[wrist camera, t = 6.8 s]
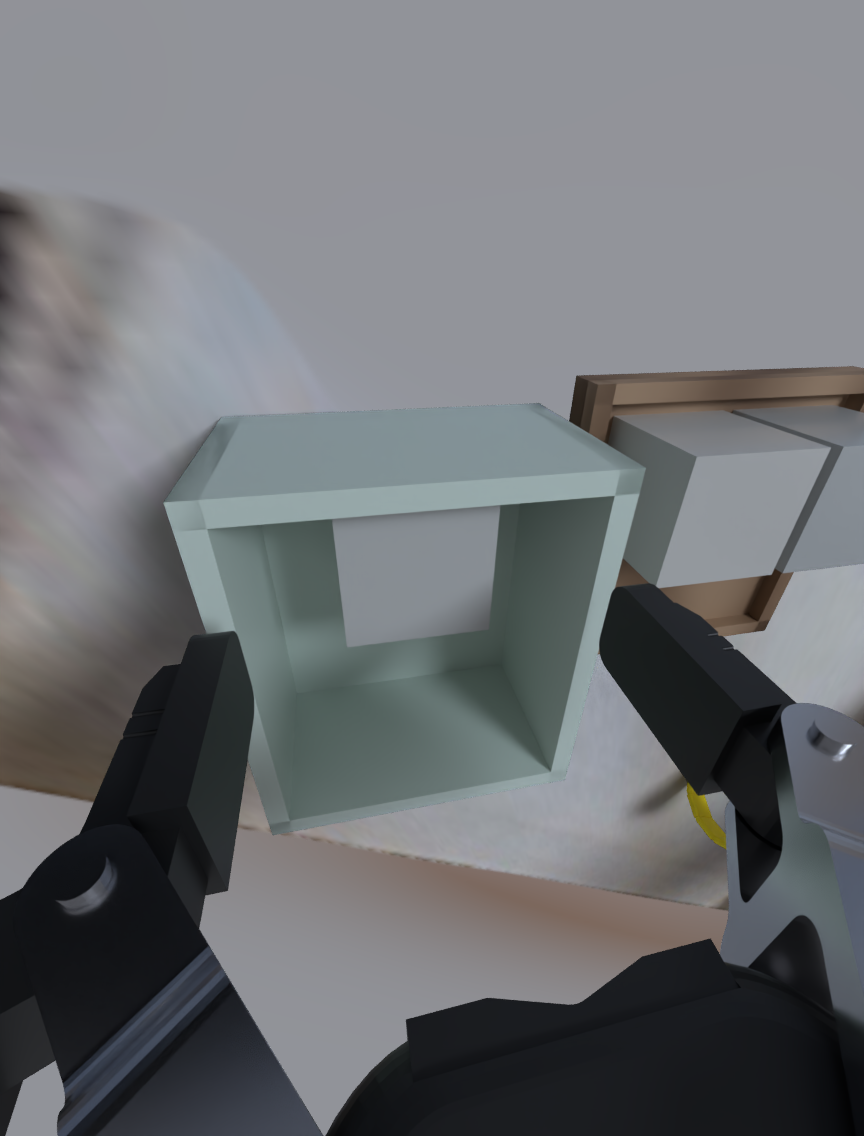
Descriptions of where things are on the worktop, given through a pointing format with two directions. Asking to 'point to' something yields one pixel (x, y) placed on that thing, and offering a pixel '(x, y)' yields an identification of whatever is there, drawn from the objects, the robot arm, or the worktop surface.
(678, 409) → the walnut tray
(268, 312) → the worktop surface
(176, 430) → the worktop surface
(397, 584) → the grey cube
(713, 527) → the light grey cube
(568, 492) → the green bin
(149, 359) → the worktop surface
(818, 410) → the grey stone
